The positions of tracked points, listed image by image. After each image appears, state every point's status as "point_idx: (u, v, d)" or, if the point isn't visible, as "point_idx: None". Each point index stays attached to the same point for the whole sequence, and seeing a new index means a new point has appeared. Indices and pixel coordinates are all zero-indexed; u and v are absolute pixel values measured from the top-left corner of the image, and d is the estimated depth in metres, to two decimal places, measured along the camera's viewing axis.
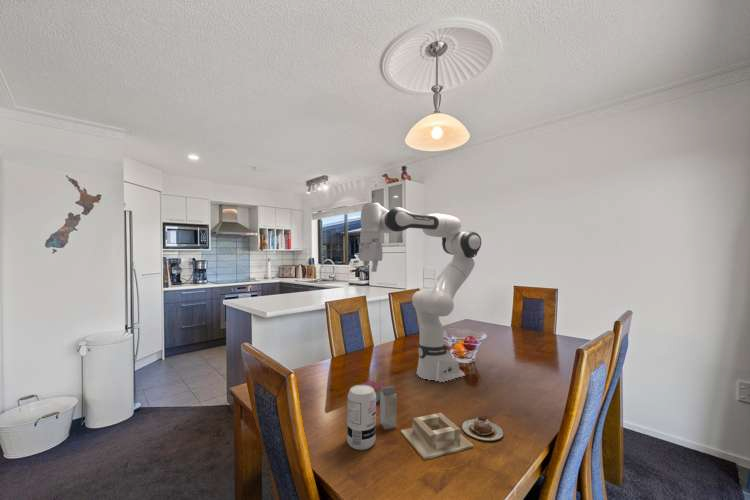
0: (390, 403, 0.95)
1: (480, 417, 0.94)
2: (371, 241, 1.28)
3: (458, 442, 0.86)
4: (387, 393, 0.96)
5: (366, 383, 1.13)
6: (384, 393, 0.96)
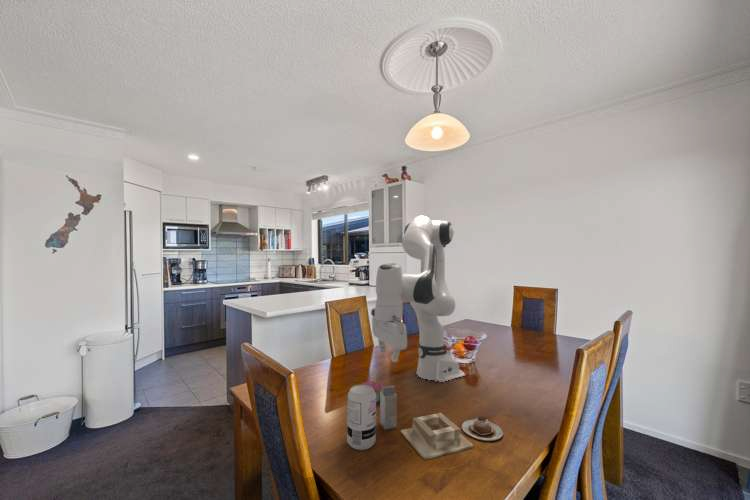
0: (390, 403, 0.95)
1: (480, 417, 0.94)
2: (391, 319, 0.94)
3: (458, 442, 0.86)
4: (387, 393, 0.96)
5: (366, 383, 1.13)
6: (384, 393, 0.96)
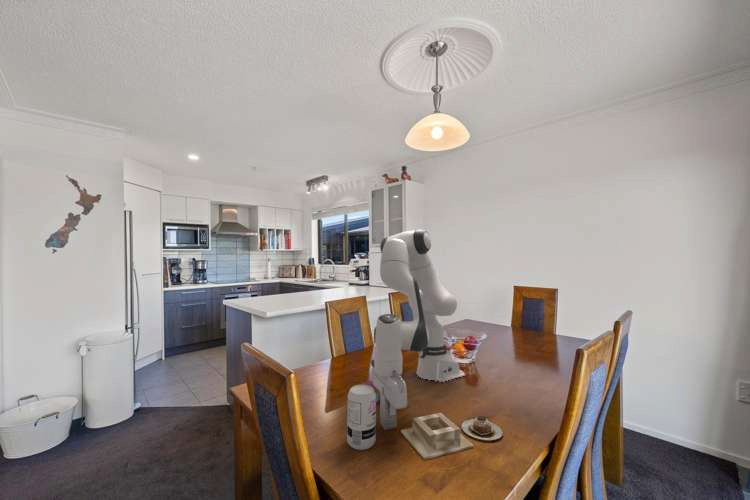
0: None
1: (479, 417, 0.94)
2: (390, 374, 0.93)
3: (458, 442, 0.86)
4: None
5: (366, 383, 1.13)
6: None
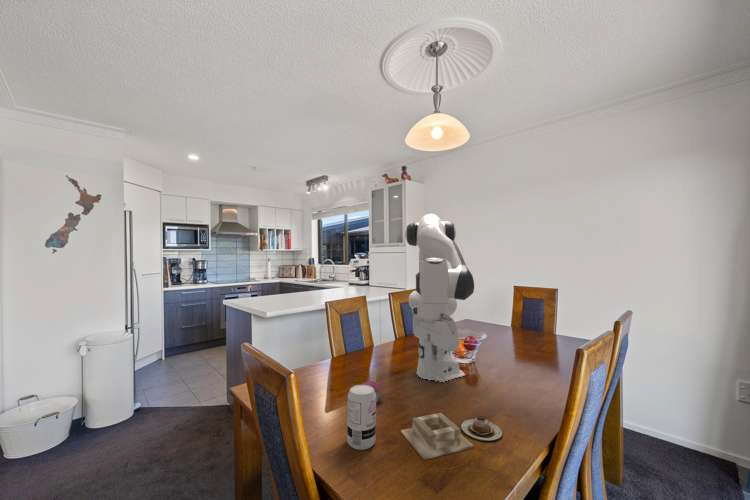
0: (437, 350, 0.88)
1: (479, 417, 0.94)
2: (438, 318, 0.86)
3: (458, 442, 0.86)
4: None
5: (366, 383, 1.13)
6: (429, 339, 0.89)
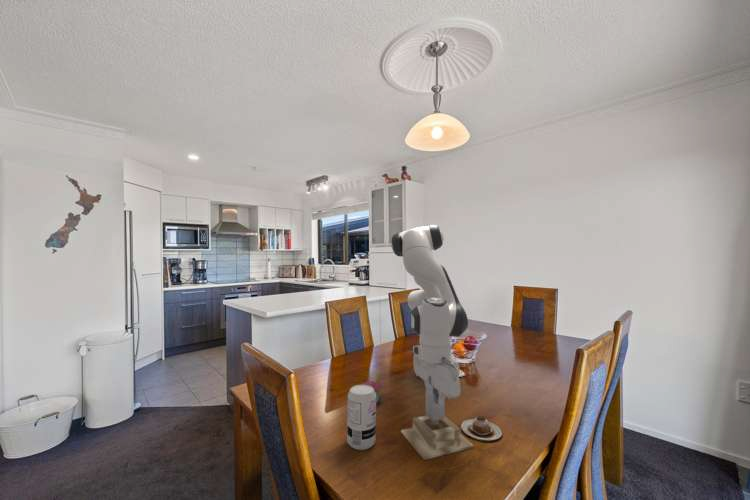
0: None
1: (479, 417, 0.94)
2: (440, 361, 0.86)
3: (458, 442, 0.86)
4: None
5: (366, 383, 1.13)
6: None
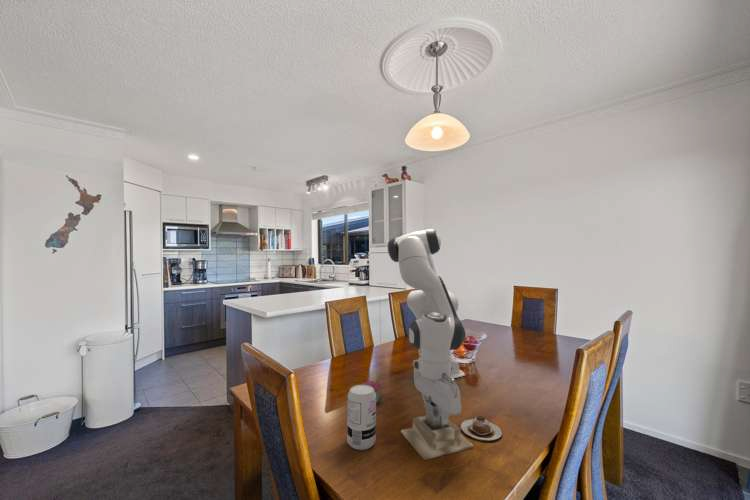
0: (438, 414, 0.88)
1: (479, 417, 0.94)
2: (440, 377, 0.86)
3: (458, 442, 0.86)
4: None
5: (366, 383, 1.13)
6: (431, 402, 0.89)
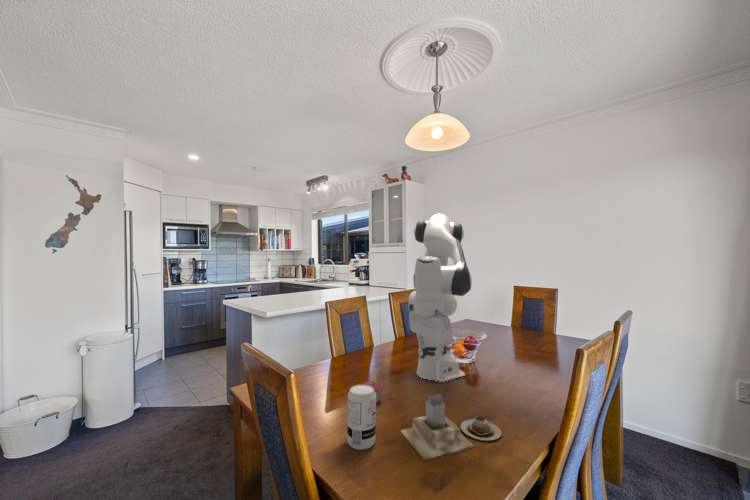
0: (438, 414, 0.88)
1: (478, 417, 0.94)
2: (433, 314, 0.91)
3: (458, 442, 0.86)
4: (434, 402, 0.89)
5: (366, 383, 1.13)
6: (431, 402, 0.89)
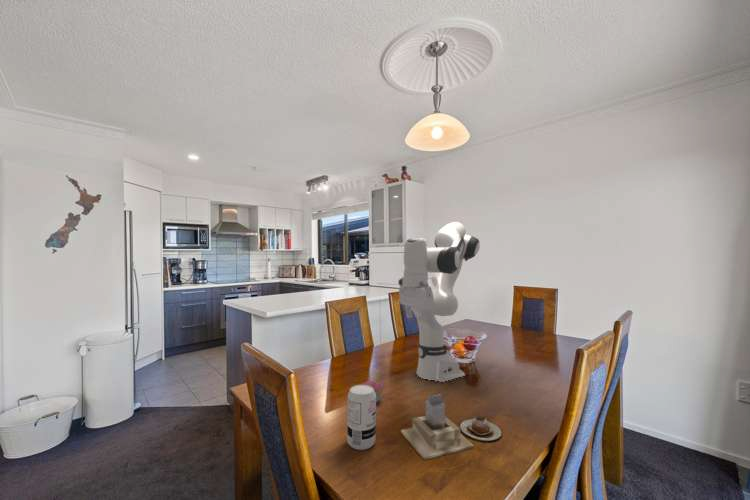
0: (438, 414, 0.88)
1: (478, 417, 0.94)
2: (418, 285, 1.07)
3: (458, 442, 0.86)
4: (434, 402, 0.89)
5: (366, 383, 1.13)
6: (431, 402, 0.89)
